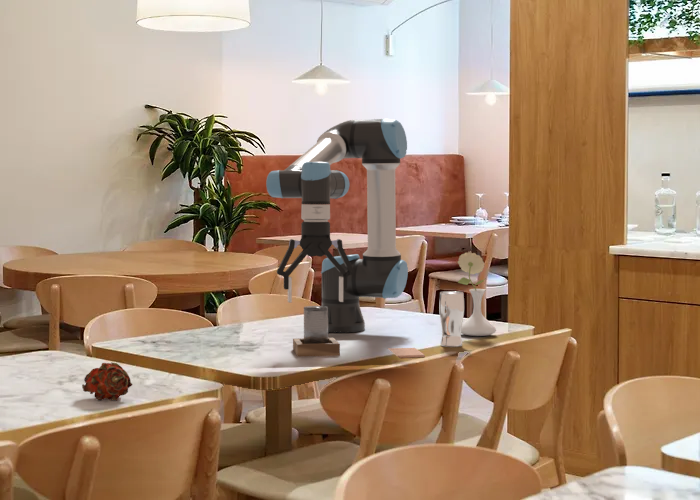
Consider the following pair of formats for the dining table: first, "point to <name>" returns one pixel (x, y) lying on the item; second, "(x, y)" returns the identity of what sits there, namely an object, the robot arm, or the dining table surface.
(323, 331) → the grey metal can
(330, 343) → the socket block
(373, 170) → the robot arm
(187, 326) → the dining table surface
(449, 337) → the beer glass
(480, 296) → the flower in vase
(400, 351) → the pad
